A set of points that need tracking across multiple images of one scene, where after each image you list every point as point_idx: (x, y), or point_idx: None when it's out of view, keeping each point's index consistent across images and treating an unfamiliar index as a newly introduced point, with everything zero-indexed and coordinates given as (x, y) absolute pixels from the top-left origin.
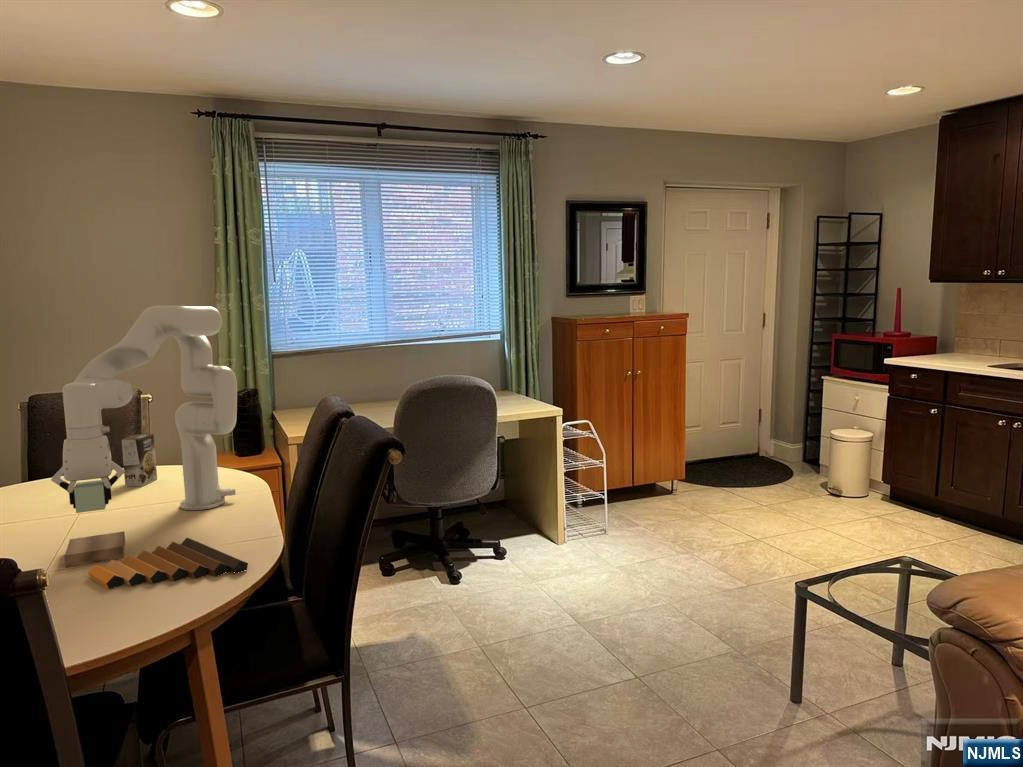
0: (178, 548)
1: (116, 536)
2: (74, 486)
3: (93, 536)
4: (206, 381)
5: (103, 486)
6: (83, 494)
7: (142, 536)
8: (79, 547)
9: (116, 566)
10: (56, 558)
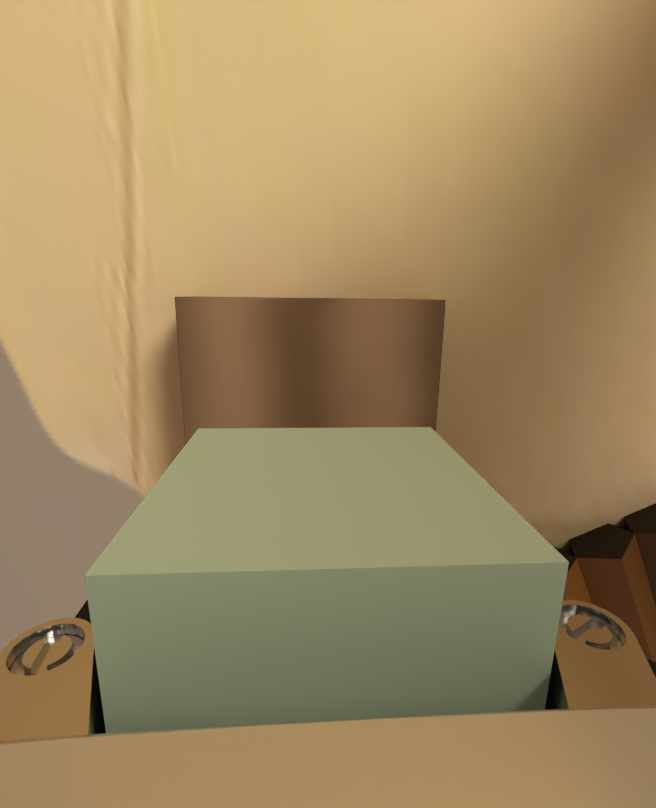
0: (620, 616)
1: (405, 375)
2: (96, 691)
3: (293, 311)
4: None
5: None
6: None
7: (505, 243)
8: None
9: None
10: (144, 377)
